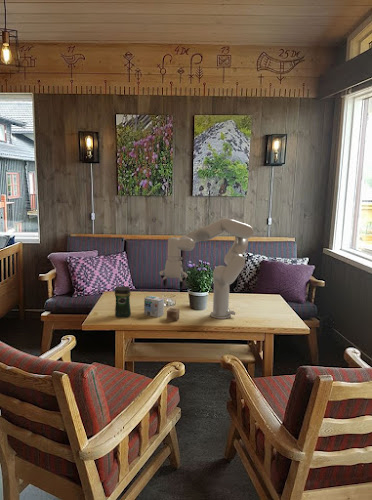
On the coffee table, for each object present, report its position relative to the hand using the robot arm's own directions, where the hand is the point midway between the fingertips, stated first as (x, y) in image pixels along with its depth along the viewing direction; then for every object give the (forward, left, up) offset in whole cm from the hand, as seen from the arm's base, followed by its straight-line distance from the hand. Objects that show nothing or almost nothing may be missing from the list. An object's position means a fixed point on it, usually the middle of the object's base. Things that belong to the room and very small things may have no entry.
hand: (173, 286), depth 241 cm
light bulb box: (+14, -5, -21) cm, 25 cm away
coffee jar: (+31, +4, -20) cm, 37 cm away
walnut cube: (0, 0, -20) cm, 20 cm away
